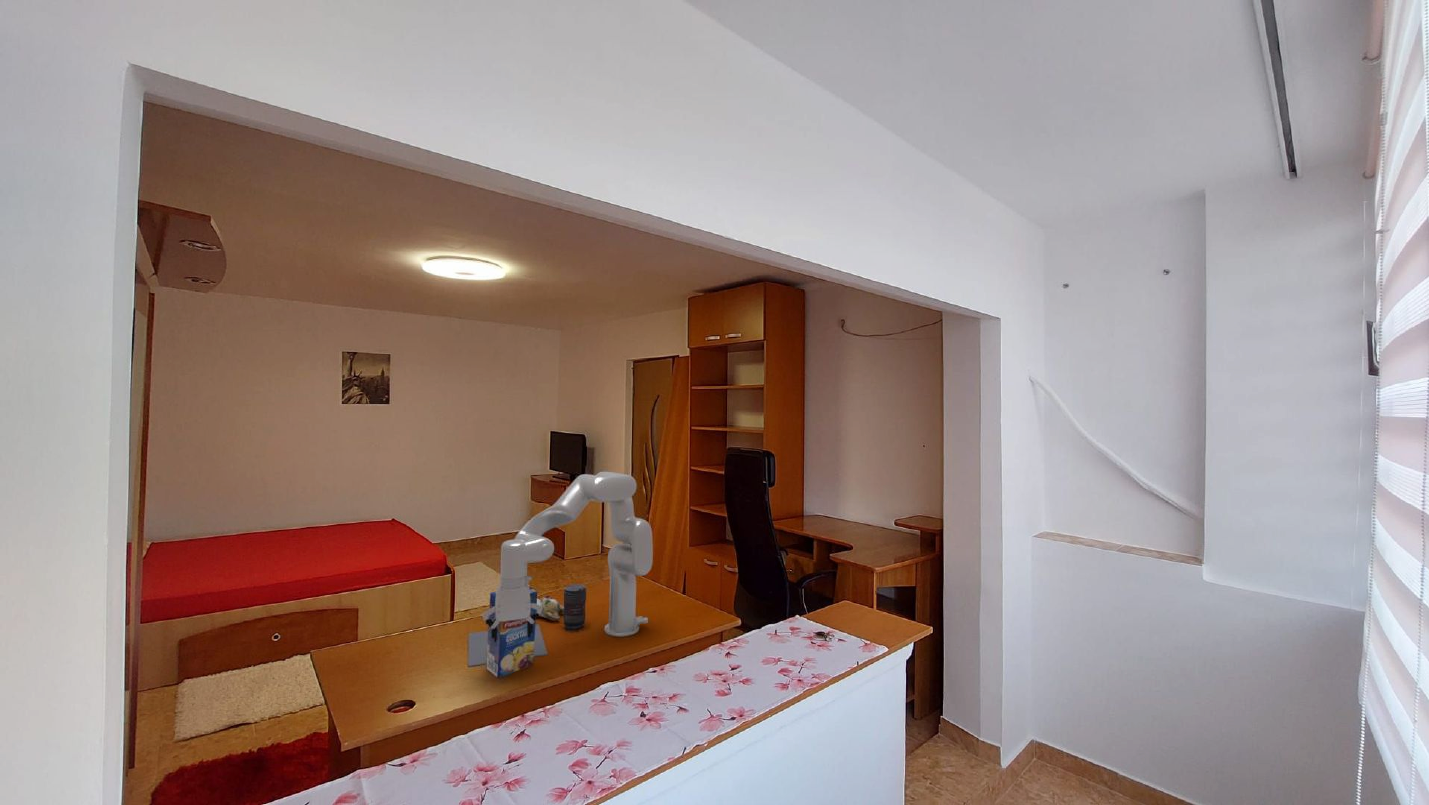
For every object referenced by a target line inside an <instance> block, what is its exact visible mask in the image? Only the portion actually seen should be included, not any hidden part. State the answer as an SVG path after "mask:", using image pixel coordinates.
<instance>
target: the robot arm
mask: <svg viewBox="0 0 1429 805" xmlns="http://www.w3.org/2000/svg"><path fill="white" fill-rule="evenodd" d="M636 490H637V481H636V479H635V478H634V477H633V476H632V475H629V474H625V473H618V472H614V471H600V472H598V473H596V474H589V473H588V474H585V473H584V474H580V475H578V476H577V477H576V478H575V479H574V480H573V481H572V482H571V484H570V485H569V486H568V487H567V489H565V491H564V492H563V493H562V494H561V496H560V497H559V498H558V499H557V500H556V502H555V503H554V504H553V505H552V506H549V507H548V508H546V509H544V510H543V511H541V512H539V513H537V514H536V515H534V516H532V518H530V519H529V520H528V521H527V522H526V523H525V524H524V526H523V527H522V528H520V530H519V531H518V533H517V534H516V535H515V537H514V539H508V540H505V541H503V542H502V544H501V547H500V576H499V577H500V585H497V588H496V591H497V592H496V591H495V592H496V599H495V606H494V607H492V608H491V609H490V608H489V609H488V610H486V611H484V612H482V613H481V617H482V619H483V620H484V621H483V622H484V623H485V624H486V625H487V626H488V627H489V626H490V627H491V628H492V638H494V642H496V641H497V625H498V624H499V622H504V621H512V620H520V619H527V620H528V622H527V635H528V637H531V633H533V623H534V621H535V620H536V621H537V619H538V618H539V617H540V616H539V615H540V613H541V611H542V609H543V608H542V606H540V605H537V604H535V603H532V602H530V589H529V587H530V585H529V583H528V582H530V581H532V576H531V575H528V564H529V563H540V562H545V561H547V560H549V559H550V558H551V557H552V556H553V554H554V551H555V545H554V543H553V541H552V540H550V539H549V538H547V537H545V536H543V535H544V534H545V533H546V532H548V531H549V530H552V529H554V528H556V527H560V526H563V525H564V526H565V525H568V524H570V523H573V522H574V521H575V520H576V519H577V518H578V517H579V516H580V514H581V512H582V511H583V510H585V507H586V506H587V505H588V504H589V503H590V501H592V502H597V503H609V504H608V505H609V510H610V516H609V517H610V534H611V537H612V538H613V539H614V540H615V541H617V542H621V543H617V544H615V545H613V546H611V548H610V549H609V551H608V555H607V565H608V569H609V570H608V571H609V609H608V610H609V611H608V612H609V613H608V614H609V615H608V623H607V624H606V625H605V626H604V632H605V633H606V634H607V635H609V636H612V637H629V636H633V635H634V634H637V633H638V632H639V630H640V624H648V622H649V619H648V617H643V615H642V616H641V615H640V616H636V604H637V603H636V598H637V597H636V596H637V581H636V580H637V579H636V576H639V577H640V576H645V575H647V574H648V573H649V572H650V570H651V569H652V566H653V562H654V561H653V557H654V556H653V555H654V551H653V549H654V546H653V531H652V527H651V524H650V523H649V522H648V521H647V520H645V519H643V518H640V517H636V516H635V510H634V508H635V507H634V502H633V501H634V500H633V498H632V497H633V496H634V494H635V493H636ZM531 608H533V609H536V612H535V613H534V614H533V616H531V615H530V613H531ZM494 612H495V619H494V620H493V621H492V620H491V619H489V615H490V614H492V613H494Z"/></svg>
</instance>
